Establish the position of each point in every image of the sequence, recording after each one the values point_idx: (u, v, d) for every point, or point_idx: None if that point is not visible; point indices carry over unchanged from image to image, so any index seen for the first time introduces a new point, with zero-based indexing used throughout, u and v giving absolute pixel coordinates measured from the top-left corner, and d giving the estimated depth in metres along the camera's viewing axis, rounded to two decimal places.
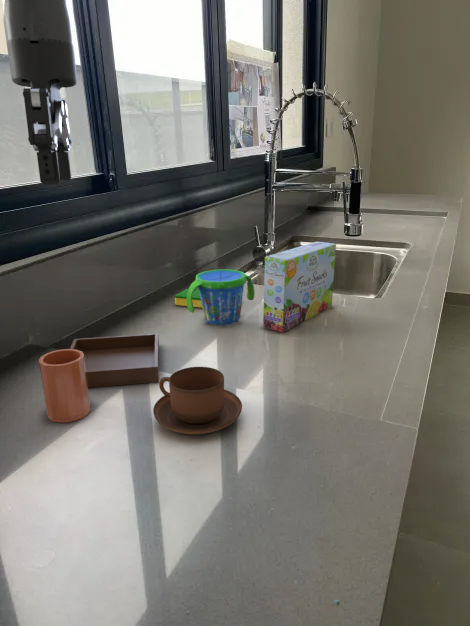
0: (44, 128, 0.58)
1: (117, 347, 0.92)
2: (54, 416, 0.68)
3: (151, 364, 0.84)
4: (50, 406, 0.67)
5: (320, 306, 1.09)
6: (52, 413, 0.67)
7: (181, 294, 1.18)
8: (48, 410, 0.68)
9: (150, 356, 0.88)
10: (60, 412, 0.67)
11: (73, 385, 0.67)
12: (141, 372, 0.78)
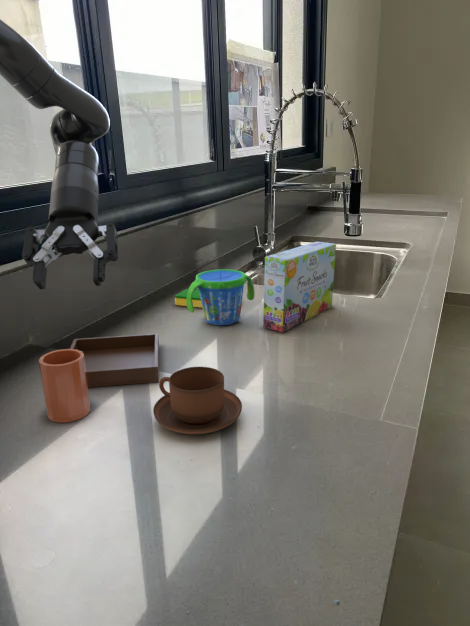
0: None
1: (117, 347, 0.92)
2: (54, 416, 0.68)
3: (151, 364, 0.84)
4: (50, 406, 0.67)
5: (320, 306, 1.09)
6: (52, 413, 0.67)
7: (181, 294, 1.18)
8: (48, 410, 0.68)
9: (150, 356, 0.88)
10: (60, 412, 0.67)
11: (73, 385, 0.67)
12: (141, 372, 0.78)
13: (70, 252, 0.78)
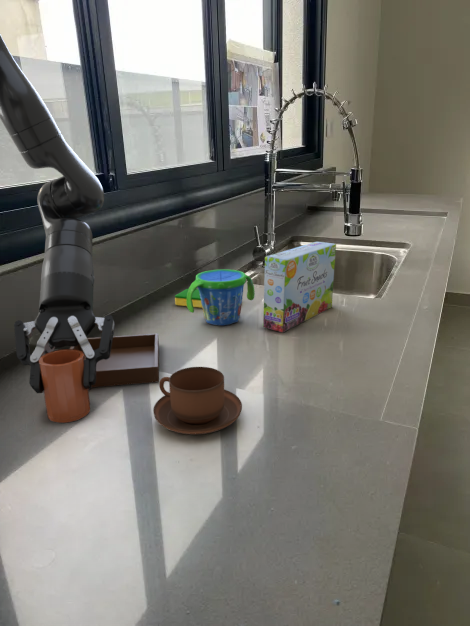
0: None
1: (117, 347, 0.92)
2: (54, 416, 0.68)
3: (151, 364, 0.84)
4: (50, 406, 0.67)
5: (320, 306, 1.09)
6: (52, 413, 0.67)
7: (181, 294, 1.18)
8: (48, 410, 0.68)
9: (150, 356, 0.88)
10: (60, 412, 0.67)
11: (73, 385, 0.67)
12: (141, 372, 0.78)
13: (63, 345, 0.71)
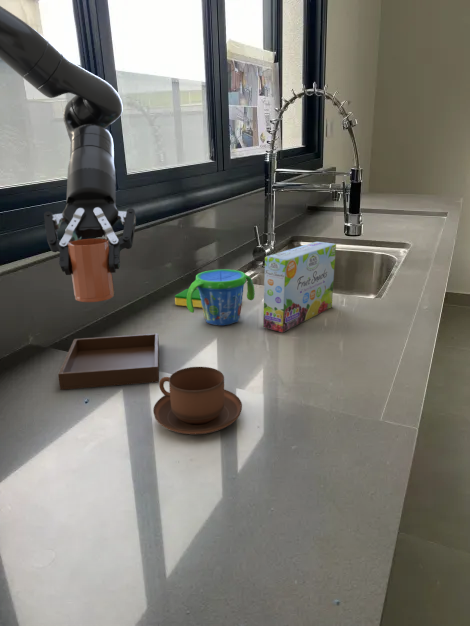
0: None
1: (117, 347, 0.92)
2: (82, 296, 0.73)
3: (151, 364, 0.84)
4: (78, 286, 0.73)
5: (320, 306, 1.09)
6: (79, 293, 0.73)
7: (181, 294, 1.18)
8: (76, 291, 0.74)
9: (150, 356, 0.88)
10: (87, 292, 0.73)
11: (99, 266, 0.72)
12: (141, 372, 0.78)
13: (89, 235, 0.76)
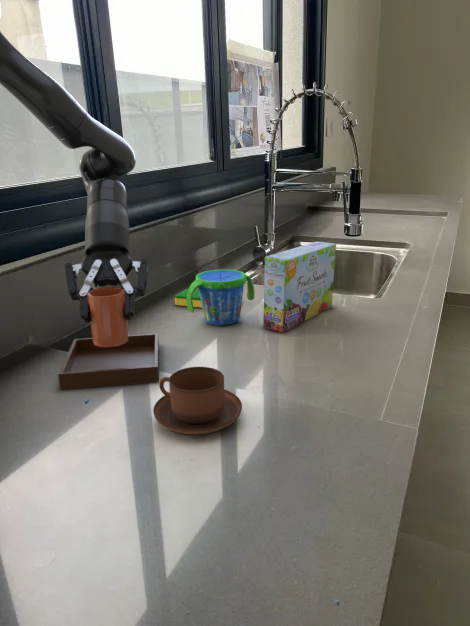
0: None
1: (117, 347, 0.92)
2: (100, 341, 0.80)
3: (151, 364, 0.84)
4: (96, 333, 0.80)
5: (320, 306, 1.09)
6: (98, 338, 0.80)
7: (181, 294, 1.18)
8: (94, 337, 0.80)
9: (150, 356, 0.88)
10: (105, 338, 0.79)
11: (116, 314, 0.79)
12: (141, 372, 0.78)
13: (106, 284, 0.83)
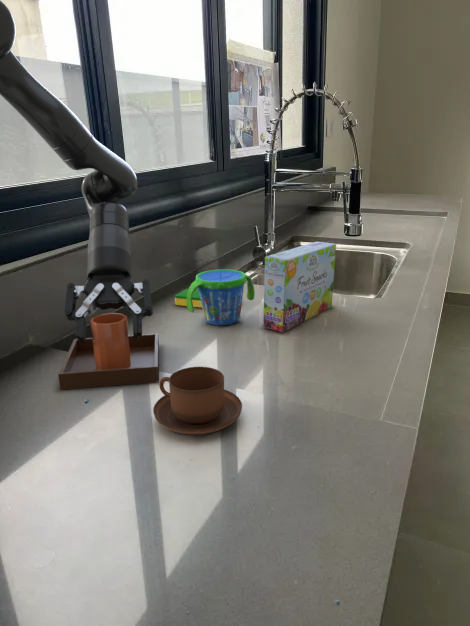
0: None
1: None
2: (103, 367, 0.81)
3: (151, 364, 0.84)
4: (99, 359, 0.81)
5: (320, 306, 1.09)
6: (101, 364, 0.81)
7: (181, 294, 1.18)
8: (97, 362, 0.82)
9: (150, 356, 0.88)
10: (108, 364, 0.81)
11: (119, 341, 0.80)
12: (141, 372, 0.78)
13: (108, 307, 0.84)
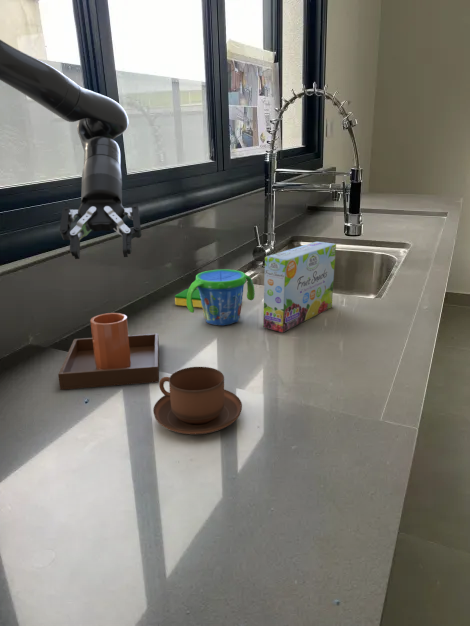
0: None
1: None
2: (103, 367, 0.81)
3: (151, 364, 0.84)
4: (99, 359, 0.81)
5: (320, 306, 1.09)
6: (101, 364, 0.81)
7: (181, 294, 1.18)
8: (97, 362, 0.82)
9: (150, 356, 0.88)
10: (108, 364, 0.81)
11: (119, 341, 0.80)
12: (141, 372, 0.78)
13: (100, 229, 0.92)
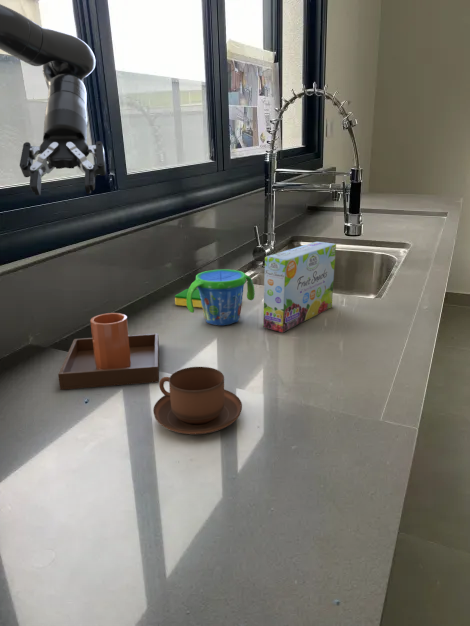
0: None
1: None
2: (103, 367, 0.81)
3: (151, 364, 0.84)
4: (99, 359, 0.81)
5: (320, 306, 1.09)
6: (101, 364, 0.81)
7: (181, 294, 1.18)
8: (97, 362, 0.82)
9: (150, 356, 0.88)
10: (108, 364, 0.81)
11: (119, 341, 0.80)
12: (141, 372, 0.78)
13: (62, 166, 0.88)
